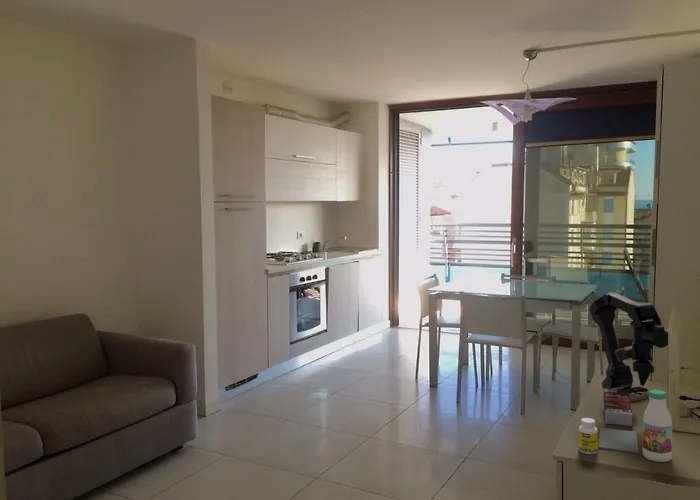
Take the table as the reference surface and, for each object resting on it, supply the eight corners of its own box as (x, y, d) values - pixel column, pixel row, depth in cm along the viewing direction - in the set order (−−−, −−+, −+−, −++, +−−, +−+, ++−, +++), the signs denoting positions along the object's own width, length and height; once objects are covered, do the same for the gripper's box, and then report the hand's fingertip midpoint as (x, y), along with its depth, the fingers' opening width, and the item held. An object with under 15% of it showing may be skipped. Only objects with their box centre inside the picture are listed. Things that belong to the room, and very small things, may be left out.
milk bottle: (641, 450, 183) (642, 386, 181) (670, 453, 180) (671, 388, 178) (643, 460, 176) (643, 394, 174) (673, 464, 173) (673, 397, 171)
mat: (600, 429, 200) (600, 427, 200) (636, 433, 195) (636, 431, 195) (598, 448, 185) (598, 446, 185) (638, 453, 181) (638, 451, 181)
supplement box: (605, 411, 203) (602, 388, 217) (605, 423, 204) (602, 399, 218) (633, 413, 200) (629, 389, 214) (633, 426, 201) (628, 401, 215)
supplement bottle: (580, 454, 182) (579, 422, 181) (577, 446, 187) (577, 416, 186) (599, 455, 180) (599, 423, 180) (595, 447, 186) (595, 417, 185)
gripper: (616, 333, 215) (616, 375, 216) (616, 345, 198) (616, 391, 199) (651, 334, 210) (650, 378, 211) (654, 348, 193) (653, 395, 195)
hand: (642, 385), depth 204 cm, fingers closed
